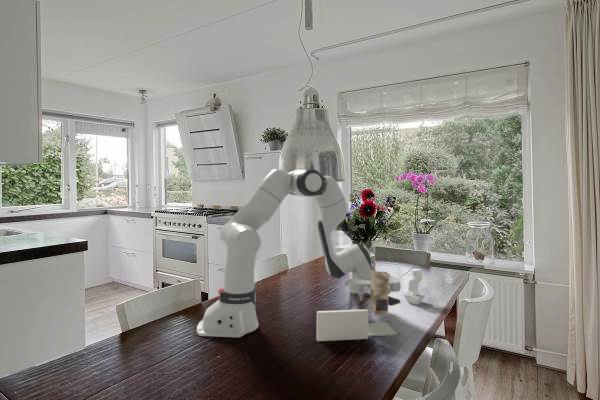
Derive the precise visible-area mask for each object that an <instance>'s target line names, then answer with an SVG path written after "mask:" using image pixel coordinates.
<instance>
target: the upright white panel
mask: <svg viewBox="0 0 600 400" xmlns="http://www.w3.org/2000/svg"><path fill="white" fill-rule="evenodd" d="M369 314H370V313H369V309H367V308H365V309H363V308H361V309H338V310H317V311H316V339H315V340H316V341H317V342H328V341H330V342H333V341H351V340H368V339H369V335H368V323H369V317H370V315H369Z"/></svg>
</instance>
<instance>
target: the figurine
mask: <svg viewBox="0 0 600 400" xmlns="http://www.w3.org/2000/svg"><path fill="white" fill-rule="evenodd" d="M422 278H423V269H419V268H418V269H415V268H414V269H412V270H411V278H409V279H408V284H407V285H408V286H407V288H408V289H407V290H408V292H406V293H404V294H403V296H404V298H405V300H406V302H407V303H408V304H411V305H416V306H418V305H419V304H421V303H422V302H423V300H424V299H425V297H426V296H427V294H425V293H421V292H419V283H420V282H421V281H422V280H423V279H422Z"/></svg>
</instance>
